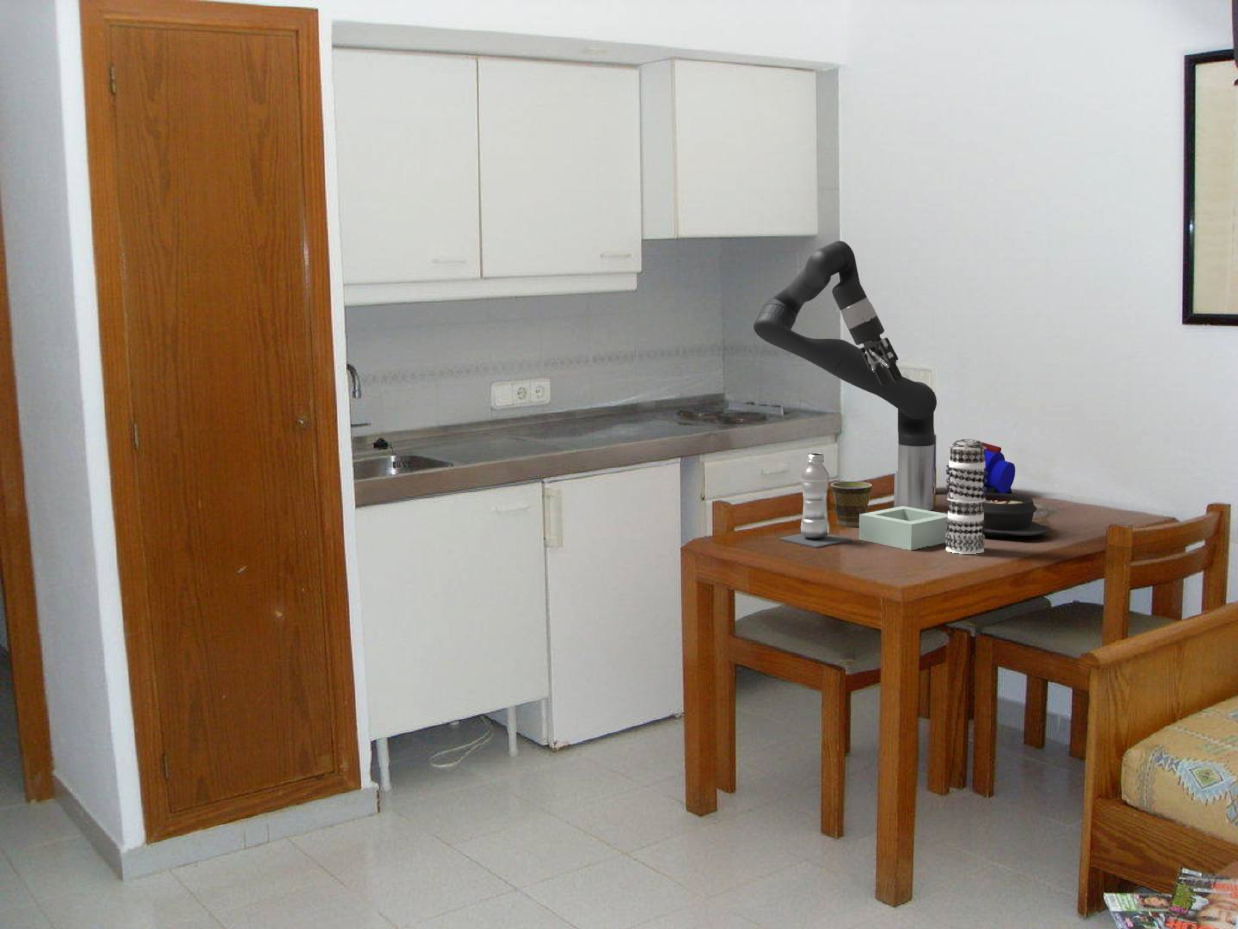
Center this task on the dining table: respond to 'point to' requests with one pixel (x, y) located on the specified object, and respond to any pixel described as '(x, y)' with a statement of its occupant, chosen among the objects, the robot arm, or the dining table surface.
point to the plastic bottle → (815, 498)
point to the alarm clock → (997, 471)
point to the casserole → (1010, 516)
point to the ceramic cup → (850, 501)
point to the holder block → (903, 527)
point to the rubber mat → (815, 540)
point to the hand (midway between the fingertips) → (892, 381)
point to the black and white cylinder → (966, 497)
